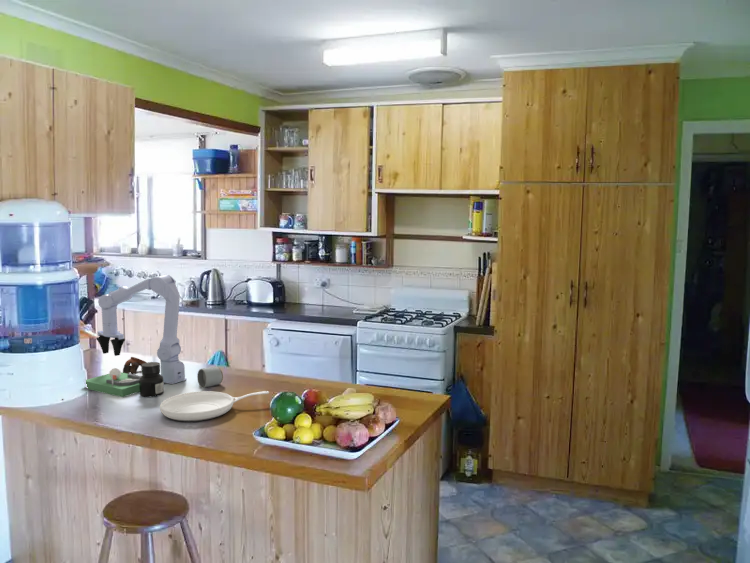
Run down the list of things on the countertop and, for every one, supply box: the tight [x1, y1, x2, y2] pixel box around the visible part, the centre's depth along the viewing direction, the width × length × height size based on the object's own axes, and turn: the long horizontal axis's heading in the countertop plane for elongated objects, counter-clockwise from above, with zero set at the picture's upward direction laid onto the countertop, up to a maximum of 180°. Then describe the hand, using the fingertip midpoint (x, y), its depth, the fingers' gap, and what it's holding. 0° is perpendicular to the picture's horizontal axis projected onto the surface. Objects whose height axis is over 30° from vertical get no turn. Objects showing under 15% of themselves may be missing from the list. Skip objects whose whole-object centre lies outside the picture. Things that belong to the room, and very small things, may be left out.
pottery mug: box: [122, 356, 148, 375], centre depth 268 cm, size 12×10×8 cm
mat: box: [85, 371, 142, 398], centre depth 247 cm, size 24×16×4 cm, turn 60°
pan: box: [159, 390, 270, 422], centre depth 219 cm, size 25×38×5 cm, turn 111°
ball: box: [108, 367, 121, 379], centre depth 248 cm, size 4×4×4 cm
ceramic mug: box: [197, 366, 224, 388], centre depth 250 cm, size 11×8×8 cm
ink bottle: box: [139, 361, 165, 398], centre depth 237 cm, size 10×9×12 cm
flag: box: [111, 374, 117, 387], centre depth 237 cm, size 3×1×8 cm, turn 60°
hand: (111, 354), depth 259 cm, fingers open, 7 cm apart
